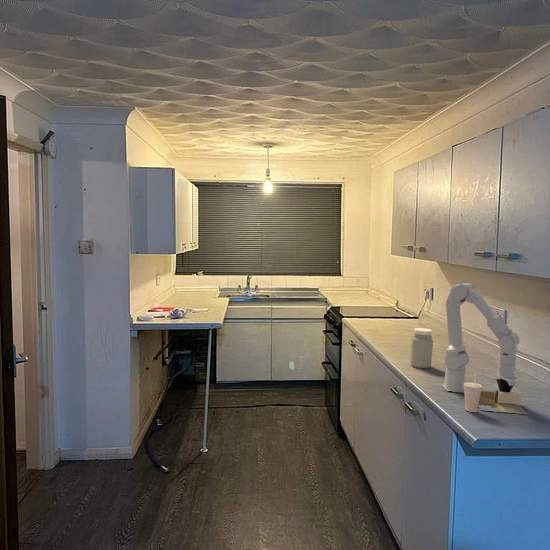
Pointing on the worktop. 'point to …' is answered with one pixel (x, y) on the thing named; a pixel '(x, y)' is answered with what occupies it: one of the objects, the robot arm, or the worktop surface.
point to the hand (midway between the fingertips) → (503, 398)
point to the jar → (421, 348)
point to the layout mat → (504, 407)
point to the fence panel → (509, 398)
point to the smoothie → (472, 395)
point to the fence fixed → (488, 396)
